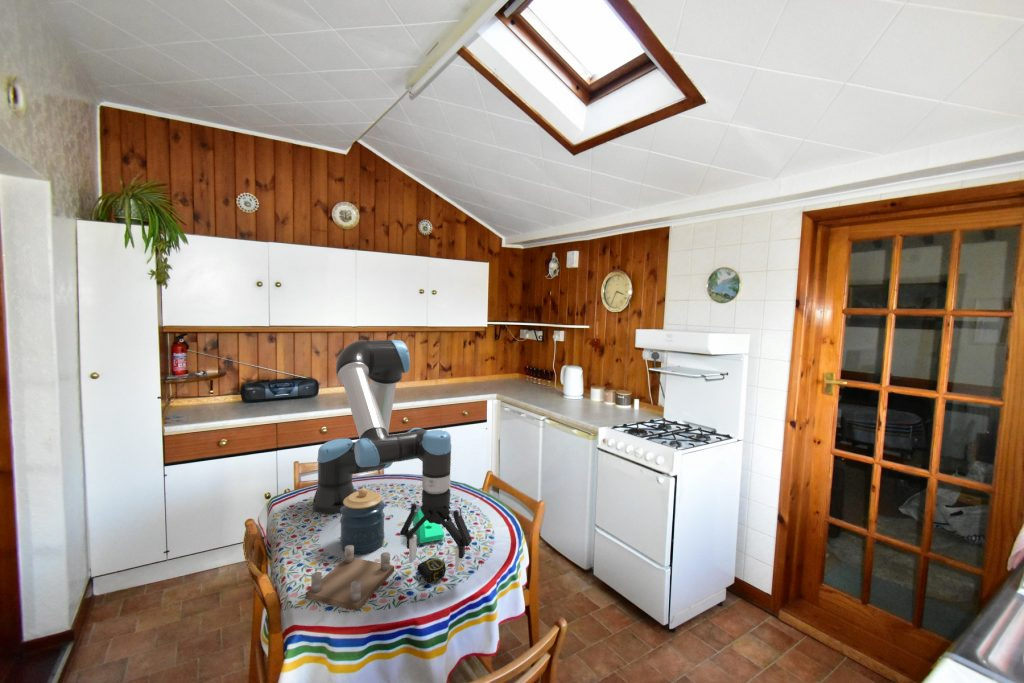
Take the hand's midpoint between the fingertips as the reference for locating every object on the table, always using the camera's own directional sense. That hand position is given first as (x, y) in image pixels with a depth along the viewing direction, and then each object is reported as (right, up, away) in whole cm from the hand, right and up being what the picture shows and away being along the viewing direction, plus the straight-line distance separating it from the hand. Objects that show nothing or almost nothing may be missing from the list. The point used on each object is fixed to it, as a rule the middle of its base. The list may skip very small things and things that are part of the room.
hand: (435, 564), depth 121 cm
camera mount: (-6, -2, +22) cm, 23 cm away
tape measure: (-1, -4, 0) cm, 4 cm away
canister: (-25, -2, +15) cm, 30 cm away
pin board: (-21, -3, -4) cm, 22 cm away
